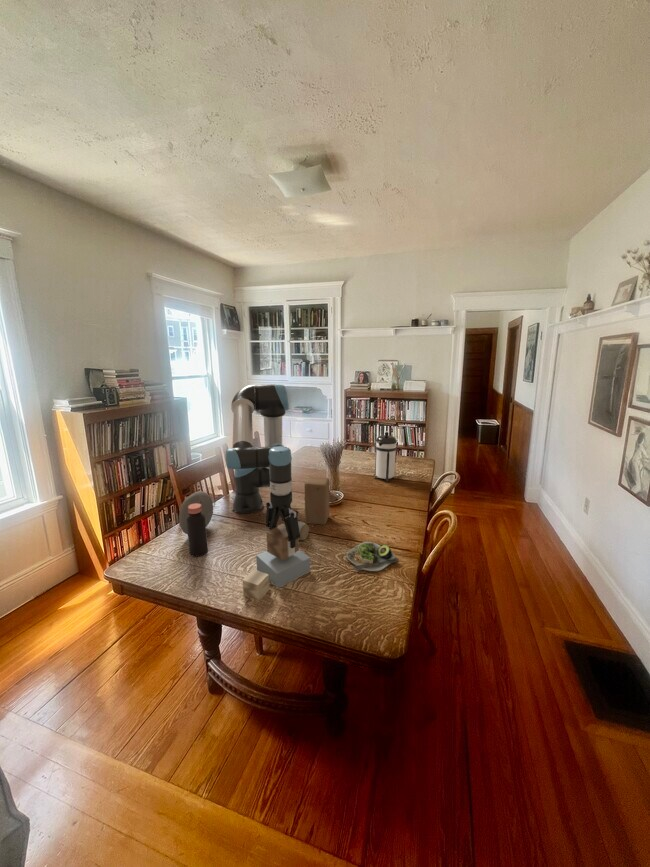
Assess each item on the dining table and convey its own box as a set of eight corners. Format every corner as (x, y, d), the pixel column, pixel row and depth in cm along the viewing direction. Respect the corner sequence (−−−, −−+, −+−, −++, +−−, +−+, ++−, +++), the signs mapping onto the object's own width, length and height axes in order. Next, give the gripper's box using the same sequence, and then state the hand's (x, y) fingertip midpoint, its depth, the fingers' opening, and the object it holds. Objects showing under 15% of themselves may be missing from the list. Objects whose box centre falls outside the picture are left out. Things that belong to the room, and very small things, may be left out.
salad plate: (371, 583, 118) (371, 572, 117) (335, 561, 131) (335, 550, 130) (403, 561, 131) (404, 550, 130) (367, 542, 144) (368, 532, 142)
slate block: (256, 569, 125) (256, 555, 124) (288, 555, 134) (287, 541, 133) (277, 589, 115) (277, 573, 114) (310, 572, 124) (310, 557, 123)
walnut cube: (267, 551, 122) (266, 531, 121) (283, 542, 128) (282, 523, 126) (282, 560, 117) (281, 539, 116) (298, 550, 123) (298, 530, 121)
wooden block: (325, 525, 156) (325, 485, 152) (304, 523, 158) (304, 483, 154) (329, 515, 166) (329, 477, 161) (309, 513, 168) (309, 475, 163)
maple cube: (243, 595, 112) (242, 579, 110) (254, 584, 117) (253, 569, 116) (258, 601, 109) (257, 585, 108) (269, 589, 114) (268, 574, 113)
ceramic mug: (301, 544, 141) (301, 527, 140) (284, 539, 145) (284, 523, 143) (313, 532, 151) (313, 516, 149) (297, 528, 154) (297, 513, 152)
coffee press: (400, 482, 208) (403, 435, 201) (374, 482, 208) (376, 434, 201) (395, 472, 225) (397, 428, 218) (370, 472, 225) (372, 428, 218)
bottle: (211, 548, 138) (207, 503, 133) (201, 558, 132) (197, 510, 127) (196, 546, 139) (192, 501, 135) (186, 555, 133) (181, 508, 128)
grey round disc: (207, 521, 160) (204, 484, 155) (219, 524, 157) (216, 486, 153) (176, 541, 143) (171, 499, 139) (188, 544, 141) (184, 503, 136)
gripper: (253, 487, 121) (256, 544, 126) (294, 503, 108) (296, 566, 113) (269, 481, 127) (271, 536, 132) (310, 496, 114) (311, 556, 119)
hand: (282, 550), depth 123 cm, fingers closed on walnut cube, 8 cm apart
